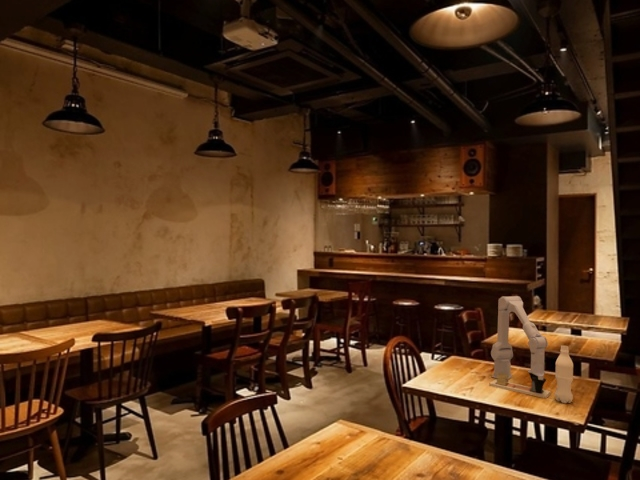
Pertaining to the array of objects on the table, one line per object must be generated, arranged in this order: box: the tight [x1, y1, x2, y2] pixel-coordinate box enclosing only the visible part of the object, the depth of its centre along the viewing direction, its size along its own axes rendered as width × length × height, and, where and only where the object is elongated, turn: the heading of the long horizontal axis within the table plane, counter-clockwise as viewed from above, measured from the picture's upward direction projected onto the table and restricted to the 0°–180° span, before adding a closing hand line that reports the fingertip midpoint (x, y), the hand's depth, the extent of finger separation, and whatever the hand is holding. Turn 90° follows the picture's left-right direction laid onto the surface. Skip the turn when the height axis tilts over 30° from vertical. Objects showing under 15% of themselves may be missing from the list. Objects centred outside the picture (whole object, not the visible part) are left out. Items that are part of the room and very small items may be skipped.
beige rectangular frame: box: [488, 379, 552, 399], centre depth 222 cm, size 8×26×1 cm, turn 50°
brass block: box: [496, 373, 509, 386], centre depth 227 cm, size 4×4×6 cm
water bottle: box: [554, 345, 574, 404], centre depth 206 cm, size 7×7×25 cm
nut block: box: [530, 380, 544, 394], centre depth 216 cm, size 4×4×6 cm
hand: (537, 390), depth 216 cm, fingers closed on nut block, 5 cm apart
